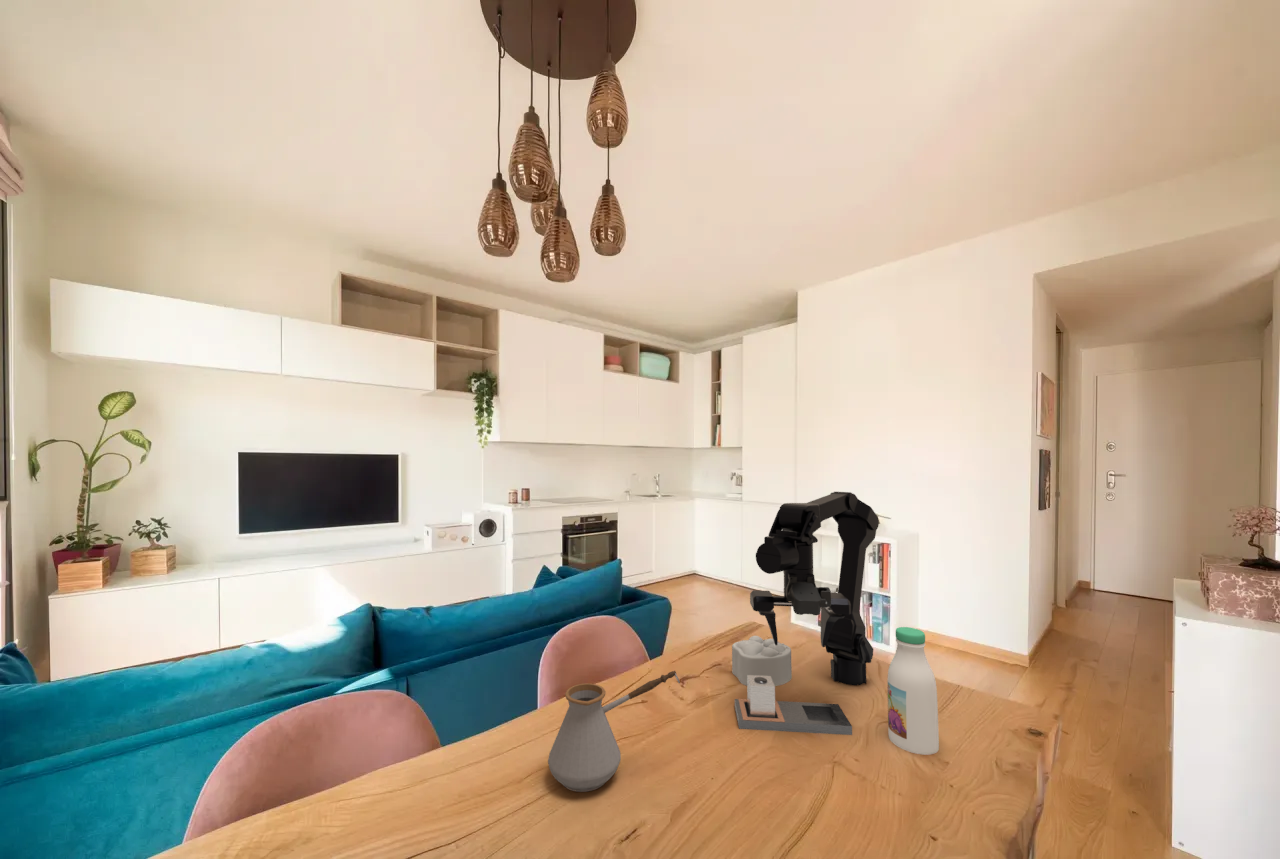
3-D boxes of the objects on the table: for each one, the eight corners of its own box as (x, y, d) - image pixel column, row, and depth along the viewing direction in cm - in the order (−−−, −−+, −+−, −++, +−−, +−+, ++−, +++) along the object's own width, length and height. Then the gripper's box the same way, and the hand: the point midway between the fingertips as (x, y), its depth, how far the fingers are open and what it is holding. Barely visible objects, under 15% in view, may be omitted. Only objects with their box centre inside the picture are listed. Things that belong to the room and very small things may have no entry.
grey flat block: (838, 717, 96) (838, 703, 96) (852, 740, 88) (852, 725, 88) (734, 711, 97) (734, 698, 98) (739, 734, 89) (738, 719, 90)
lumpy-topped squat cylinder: (728, 672, 115) (728, 635, 116) (779, 668, 118) (779, 632, 118) (745, 693, 105) (745, 652, 106) (801, 688, 108) (800, 648, 108)
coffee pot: (548, 805, 71) (549, 698, 72) (547, 758, 82) (548, 666, 83) (689, 787, 75) (689, 686, 76) (670, 744, 86) (670, 657, 87)
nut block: (771, 713, 95) (770, 675, 95) (775, 725, 91) (774, 685, 91) (747, 711, 95) (747, 674, 96) (750, 724, 91) (750, 684, 91)
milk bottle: (936, 741, 88) (932, 627, 89) (942, 765, 81) (938, 641, 82) (887, 731, 91) (885, 620, 92) (889, 753, 84) (886, 634, 85)
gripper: (757, 574, 92) (758, 660, 91) (860, 577, 90) (862, 664, 89) (749, 562, 103) (750, 638, 102) (841, 564, 101) (842, 641, 100)
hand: (799, 645), depth 98 cm, fingers open, 9 cm apart
